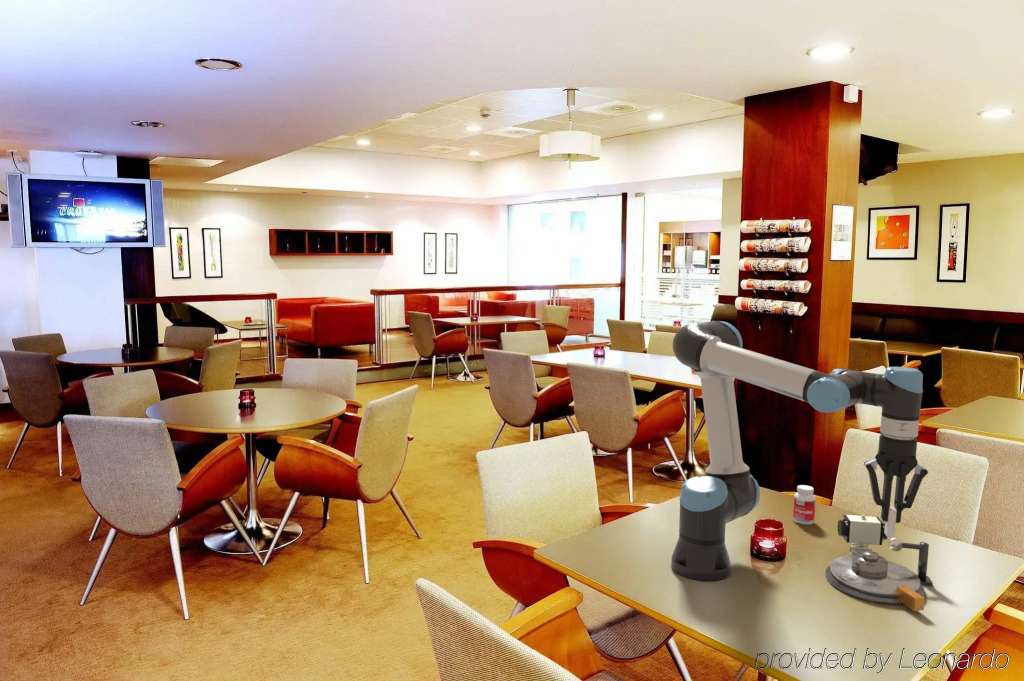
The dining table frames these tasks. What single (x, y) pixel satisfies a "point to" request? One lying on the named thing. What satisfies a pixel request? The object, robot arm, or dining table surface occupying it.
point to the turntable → (881, 582)
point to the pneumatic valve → (861, 532)
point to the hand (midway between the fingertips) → (889, 535)
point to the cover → (869, 565)
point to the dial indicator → (923, 549)
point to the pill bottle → (804, 505)
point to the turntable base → (862, 595)
